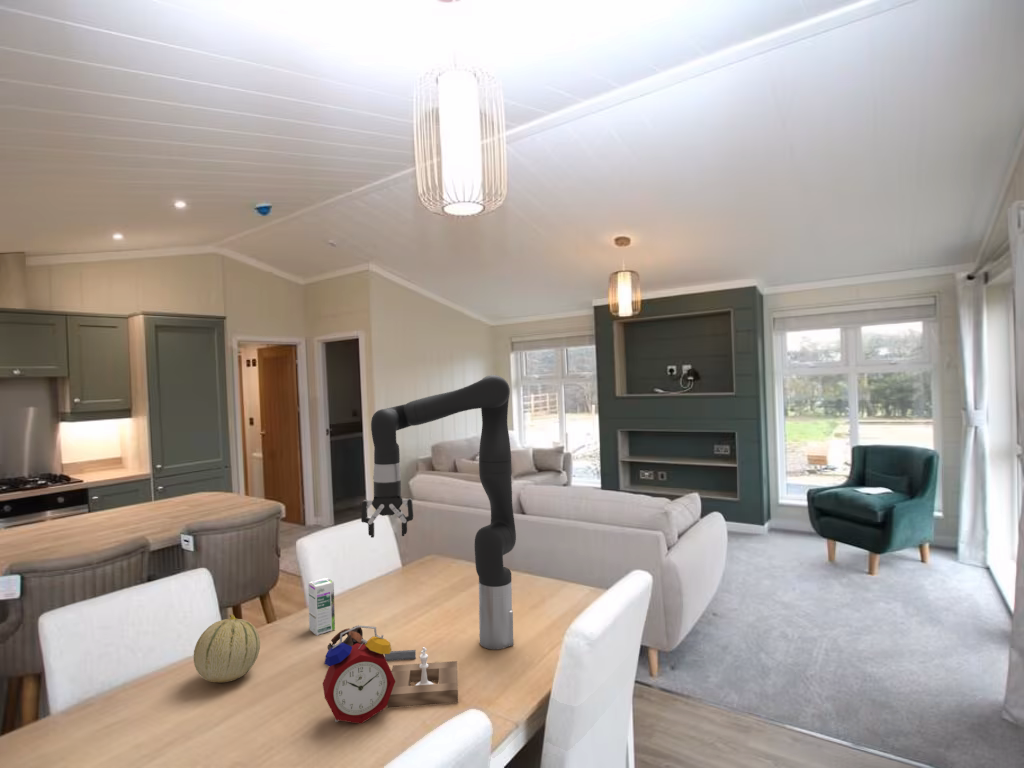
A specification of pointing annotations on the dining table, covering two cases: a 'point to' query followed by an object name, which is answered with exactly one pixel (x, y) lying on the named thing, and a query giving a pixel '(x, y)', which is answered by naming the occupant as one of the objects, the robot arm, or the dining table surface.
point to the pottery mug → (348, 637)
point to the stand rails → (401, 655)
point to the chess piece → (424, 668)
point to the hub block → (424, 693)
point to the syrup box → (321, 606)
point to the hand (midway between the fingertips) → (387, 536)
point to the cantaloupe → (226, 650)
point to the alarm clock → (358, 678)
